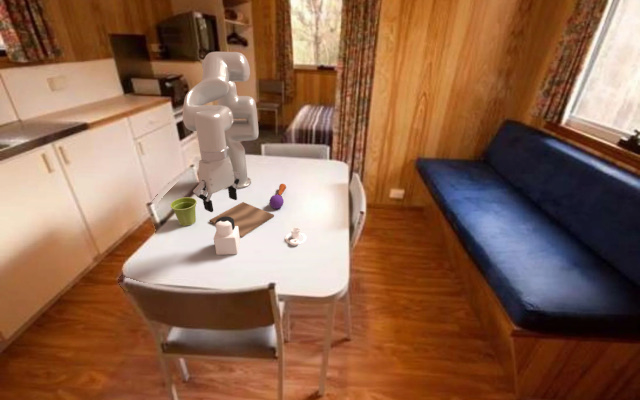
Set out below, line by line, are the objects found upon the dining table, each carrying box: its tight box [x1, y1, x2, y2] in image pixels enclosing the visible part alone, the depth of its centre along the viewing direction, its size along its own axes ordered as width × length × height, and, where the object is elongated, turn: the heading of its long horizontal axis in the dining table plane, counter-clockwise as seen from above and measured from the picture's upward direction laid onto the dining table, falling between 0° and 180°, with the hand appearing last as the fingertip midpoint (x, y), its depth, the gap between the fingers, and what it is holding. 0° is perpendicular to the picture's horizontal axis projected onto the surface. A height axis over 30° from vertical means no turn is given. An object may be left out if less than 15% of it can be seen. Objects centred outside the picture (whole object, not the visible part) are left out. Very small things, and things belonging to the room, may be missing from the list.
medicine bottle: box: [213, 216, 241, 256], centre depth 105 cm, size 7×7×12 cm
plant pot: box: [169, 196, 198, 227], centre depth 120 cm, size 9×9×9 cm
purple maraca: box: [269, 183, 287, 209], centre depth 139 cm, size 6×6×20 cm
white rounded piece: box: [284, 227, 307, 246], centre depth 113 cm, size 9×8×4 cm
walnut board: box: [209, 201, 275, 239], centre depth 125 cm, size 18×18×1 cm
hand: (221, 204), depth 99 cm, fingers open, 9 cm apart
